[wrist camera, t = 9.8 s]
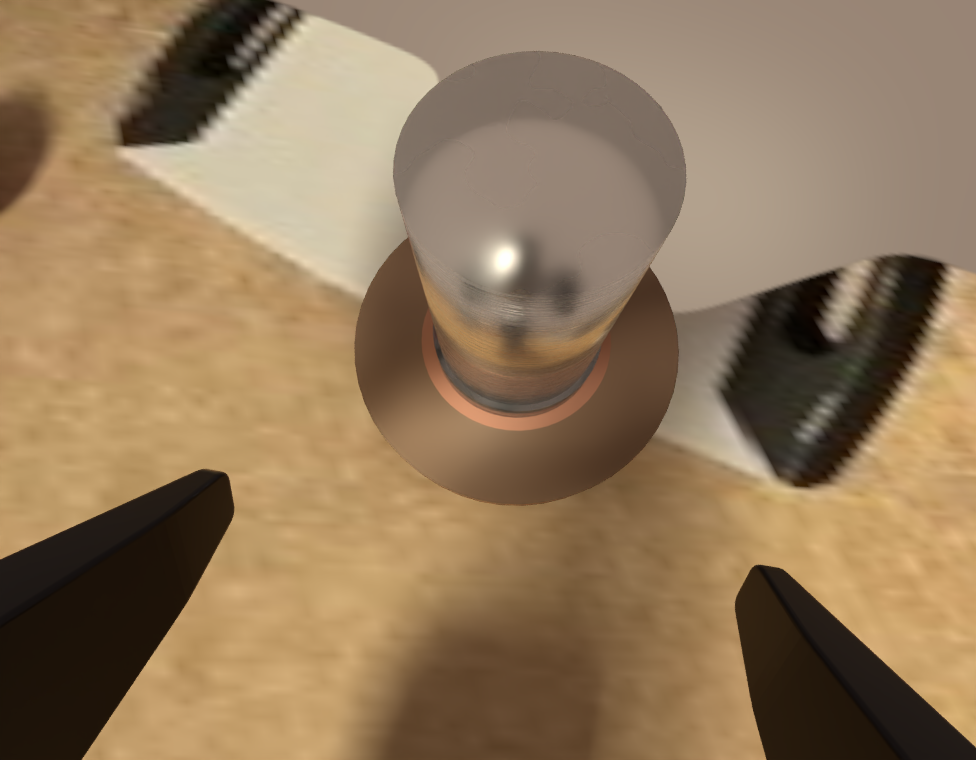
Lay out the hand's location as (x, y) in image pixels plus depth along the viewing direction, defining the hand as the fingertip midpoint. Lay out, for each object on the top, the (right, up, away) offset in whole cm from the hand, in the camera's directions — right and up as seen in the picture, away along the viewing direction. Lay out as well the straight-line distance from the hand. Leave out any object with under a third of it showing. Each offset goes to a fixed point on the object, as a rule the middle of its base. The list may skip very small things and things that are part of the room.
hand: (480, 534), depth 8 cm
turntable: (+1, +4, +14) cm, 15 cm away
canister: (+1, +4, +11) cm, 12 cm away
